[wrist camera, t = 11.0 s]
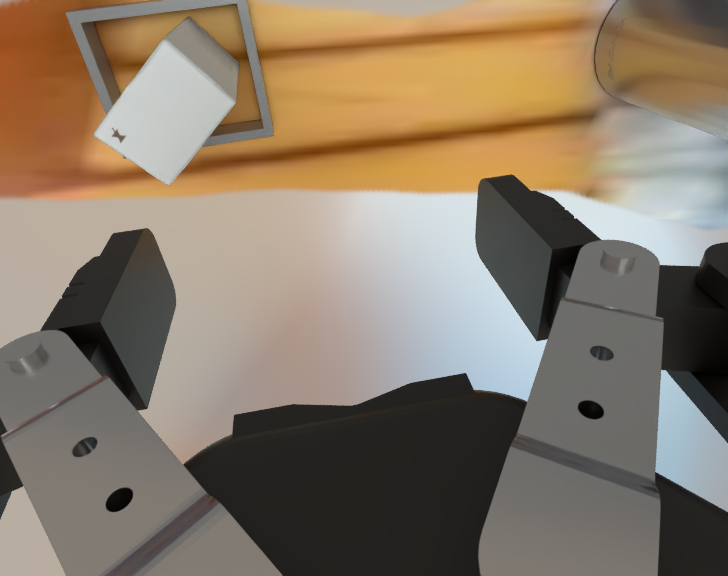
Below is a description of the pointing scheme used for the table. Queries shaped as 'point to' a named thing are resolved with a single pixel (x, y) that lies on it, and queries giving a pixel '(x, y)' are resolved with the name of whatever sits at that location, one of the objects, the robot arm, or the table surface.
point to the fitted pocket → (161, 3)
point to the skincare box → (173, 102)
